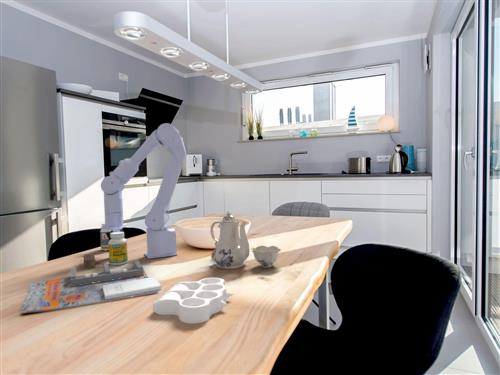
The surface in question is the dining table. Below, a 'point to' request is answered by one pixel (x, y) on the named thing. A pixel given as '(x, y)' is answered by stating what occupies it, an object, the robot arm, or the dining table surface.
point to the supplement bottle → (117, 249)
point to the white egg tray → (194, 300)
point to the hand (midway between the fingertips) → (115, 252)
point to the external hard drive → (130, 287)
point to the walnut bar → (89, 261)
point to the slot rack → (106, 274)
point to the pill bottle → (104, 238)
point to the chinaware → (238, 246)
